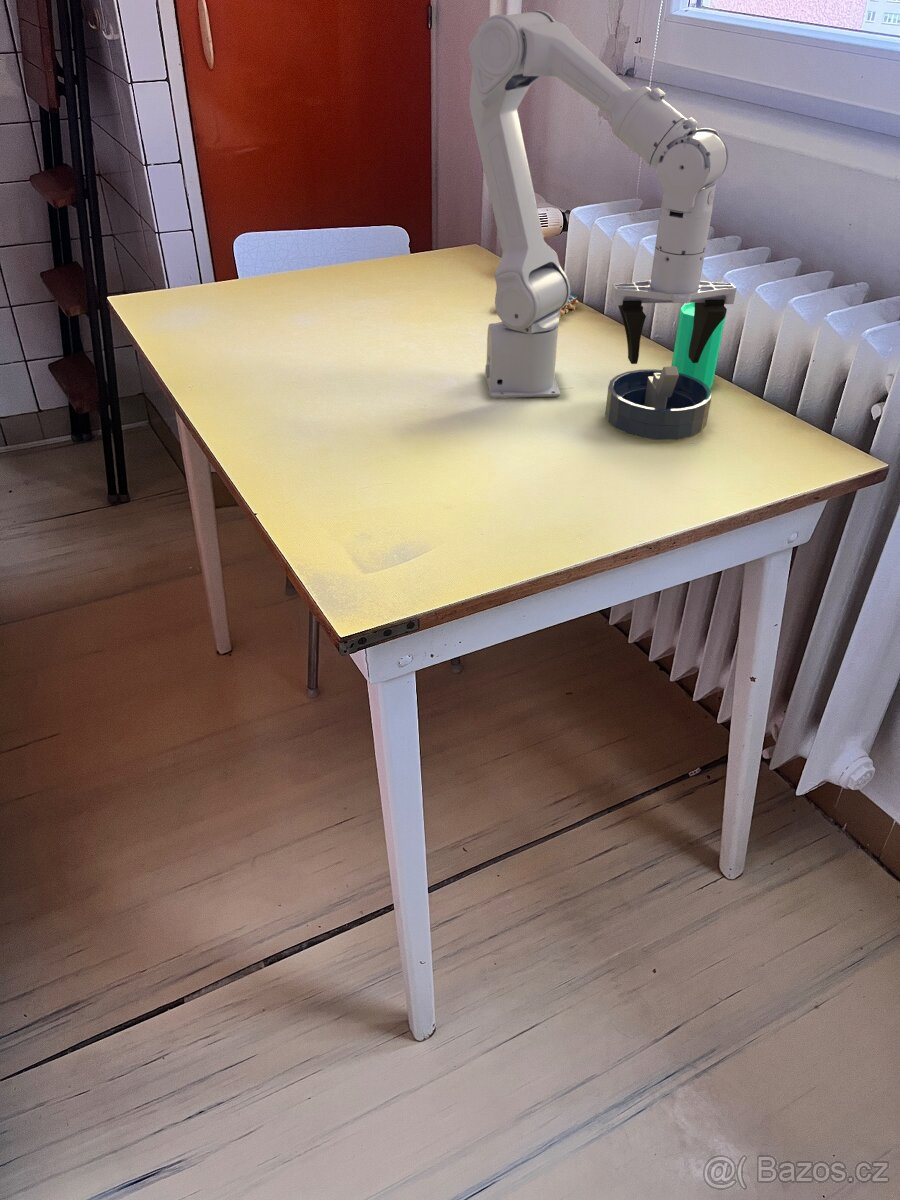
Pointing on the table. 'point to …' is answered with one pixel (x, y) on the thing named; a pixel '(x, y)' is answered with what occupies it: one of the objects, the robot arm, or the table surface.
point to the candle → (681, 350)
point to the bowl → (672, 423)
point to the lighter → (660, 387)
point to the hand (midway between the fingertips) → (662, 360)
